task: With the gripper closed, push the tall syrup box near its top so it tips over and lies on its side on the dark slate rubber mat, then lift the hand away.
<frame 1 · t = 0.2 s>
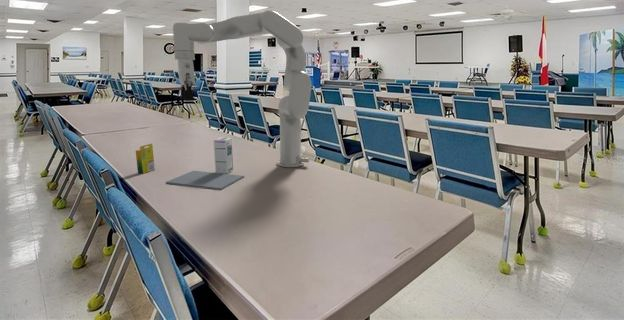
hand: (187, 99, 162), 31 cm above the table, tool pointing down, fingers open, 9 cm apart
syrup box: (224, 172, 171), on the table
crayon box: (146, 171, 170), on the table
mat: (206, 180, 158), on the table
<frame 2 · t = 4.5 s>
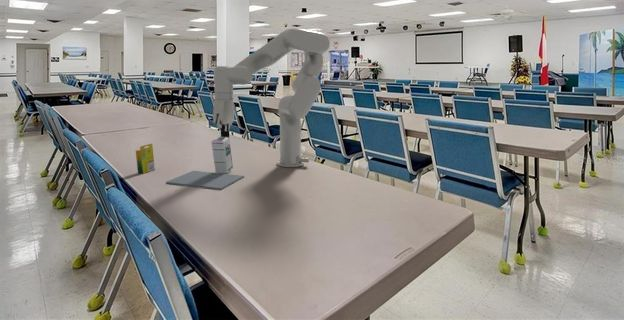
hand: (225, 140, 170), 13 cm above the table, tool pointing down, fingers closed
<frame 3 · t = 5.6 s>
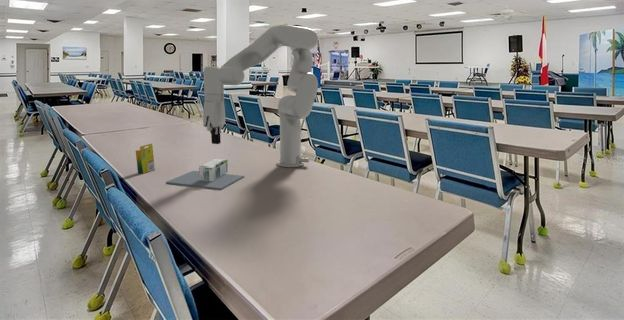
hand: (216, 143, 163), 13 cm above the table, tool pointing down, fingers closed
syrup box: (221, 165, 168), point 3 cm above the table, touching mat
everything else where it was.
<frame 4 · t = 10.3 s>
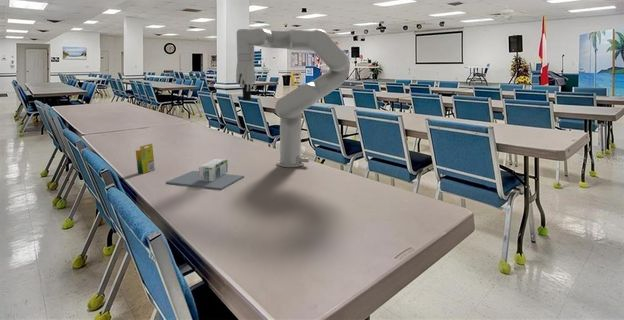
hand: (246, 100, 182), 29 cm above the table, tool pointing down, fingers closed
nothing on the table moved.
at the end: syrup box tilted 90°; syrup box touching mat; the gripper is holding nothing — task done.
